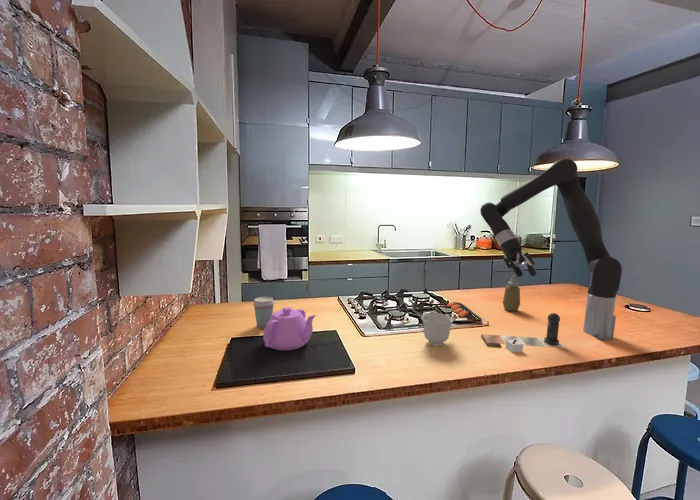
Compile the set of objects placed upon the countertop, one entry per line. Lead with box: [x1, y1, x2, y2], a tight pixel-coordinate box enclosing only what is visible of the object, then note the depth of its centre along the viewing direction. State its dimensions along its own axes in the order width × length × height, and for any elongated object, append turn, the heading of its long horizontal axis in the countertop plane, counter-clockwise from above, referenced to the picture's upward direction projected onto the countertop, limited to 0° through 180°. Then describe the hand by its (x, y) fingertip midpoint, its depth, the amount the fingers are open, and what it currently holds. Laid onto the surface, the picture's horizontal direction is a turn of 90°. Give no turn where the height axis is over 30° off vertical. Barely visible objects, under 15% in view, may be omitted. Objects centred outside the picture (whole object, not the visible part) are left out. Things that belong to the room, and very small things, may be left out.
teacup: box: [420, 312, 454, 347], centre depth 130 cm, size 12×15×10 cm
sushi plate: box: [429, 301, 483, 323], centre depth 165 cm, size 29×30×4 cm
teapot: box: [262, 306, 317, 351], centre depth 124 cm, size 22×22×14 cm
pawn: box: [543, 312, 561, 345], centre depth 128 cm, size 5×5×12 cm
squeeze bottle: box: [502, 274, 521, 312], centre depth 171 cm, size 8×8×18 cm
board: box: [480, 333, 567, 349], centre depth 130 cm, size 28×9×1 cm, turn 83°
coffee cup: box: [252, 296, 275, 330], centre depth 142 cm, size 8×9×12 cm
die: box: [505, 340, 524, 353], centre depth 122 cm, size 4×4×4 cm
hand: (527, 275), depth 137 cm, fingers open, 8 cm apart
